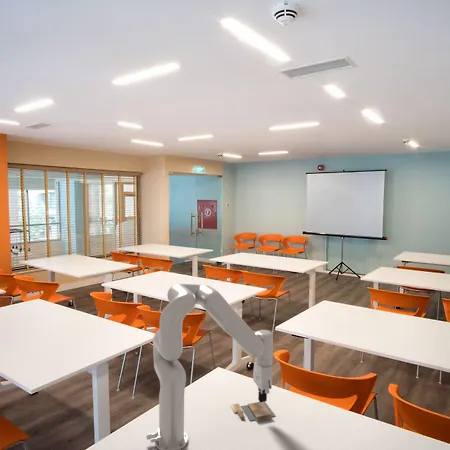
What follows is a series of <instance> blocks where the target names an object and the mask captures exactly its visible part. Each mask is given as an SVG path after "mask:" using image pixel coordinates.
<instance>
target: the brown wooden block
mask: <svg viewBox="0 0 450 450" xmlns="http://www.w3.org/2000/svg"><path fill="white" fill-rule="evenodd" d="M247 405H248V409H249V410H250V412H251V414H252V415H253V417H254V418H255V420H254V421H256V422H257V421H263V420H268V419H272V417H271V416H272V414H271V413H270V411H269V410H268V409H267V407H266V406H265V405H264V403H263V402H260V401H256V402H250V403H248V404H247Z"/></svg>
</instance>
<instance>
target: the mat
mask: <svg viewBox="0 0 450 450" xmlns="http://www.w3.org/2000/svg"><path fill="white" fill-rule="evenodd" d="M263 403H264V405H265V406H266V407H267V409H268V410H269V411H270V413H271V414H272V416H271V418H273V417H276V414H275V412H273V410H272V409H271V408H270V406H269V405H268V404H267V401H265V402H263ZM240 407H241V409H242V410H243V412H244V413H243V414H245V416H246V418H247V419H248V420H249V422H253V421H256V420H255V418H254V417H253V415H252V414H251V412H250V410H249V409H248V404H244V405H241V406H240Z"/></svg>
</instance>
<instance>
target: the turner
mask: <svg viewBox="0 0 450 450" xmlns="http://www.w3.org/2000/svg"><path fill="white" fill-rule="evenodd" d="M229 407H230V409H231V410H232V412H233V413H234V414H237V415H238V417H239V418H240V420H241V421H242V420H245V419H246V418H245V416H246V415H244V413H243V412H244V411H243V409H242V408H241V406H240V404H239V403H234V404H230V405H229Z"/></svg>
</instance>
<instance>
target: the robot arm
mask: <svg viewBox="0 0 450 450" xmlns="http://www.w3.org/2000/svg"><path fill="white" fill-rule="evenodd" d="M166 295H167V300H168V302H169V303H167V305H166V306H165V307H164V308H163V310H162V312H161V314H160V316H159V317H160V318H159V329H158V330H157V331H156V332H155V334H154V336H153V339H152V340H153V341H152V347H153V349H152V351H153V352H152V353H153V355H152V356H153V367H154V372H155V373H156V375H157V377H158V379H159V385H160V386H159V388H160V389H159V396H158V405H159V407H158V411H159V412H158V414H159V415H158V423H159V424H158V428H157V431H154V432H152V433H147V434H146V440H150V444H151V443H154V445H155V447H156V448H157V449H158V450H182V449H184V448H185V447H186V446H187V444H188V440H189V435H188V434H187V432H185V388H186V383H187V375H186V374H187V373H186V370H185V369H184V367H183V365H182V364H181V362H180V361H179V360H178V359H180V358H181V355H182V353H183V349H184V343H183V322H184V319H185V317H186V316H187V315H188V314H189V313H191V312H192V310H193V309H194V308H195V306H196V305H199V306H201V307H202V308H203V309H204V310H205V311H206V313H207V314H208V315H209V316H210V317H211V318H212V319H213V321H215V322H216V324H217V325H218V326H219V327H220V328H221V329H222V330H223V331H224V332H225V333H226V334H228V335H229V336H230V337H231V338H232V339H234V340H235V343H236V344H237V346H238V348H240V349H241V350H242V351H244V352H245V353H246V354H247V355H248V356H249V357H251V358H254V363H253V374H252V379H253V382H254V383H255V385H256V386H257V390H258V398H257V399H258V402H267V398H268V397H267V396H268V394H270V390H271V389H272V387H273V370H272V369H273V368H272V365H273V359H274V358H273V357H274V353H273V352H274V348H273V347H274V334H273V332H272V331H271V330H268V329H259V330H253V329H252V328H251V327H250V326H249V325H248V324H247V322H245V320H244V319H242V317H241V316H240V315H239V314H238V313H237V311H235V309H234V308H233V307H232V305H230V303H229V302H227V300H226V299H225V297H224V296H222V294H221V293H220V292H219V291H218V290H216V289H215V288H213V287H212V286H210V285H208V284H207V285H206V284H195V283H193V284H191V283H189V284H188V283H177V284H173V285H171V286H170V288H169V289H168V290H167V294H166Z"/></svg>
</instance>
